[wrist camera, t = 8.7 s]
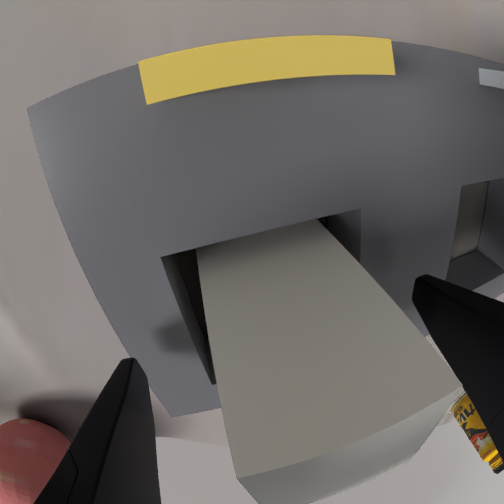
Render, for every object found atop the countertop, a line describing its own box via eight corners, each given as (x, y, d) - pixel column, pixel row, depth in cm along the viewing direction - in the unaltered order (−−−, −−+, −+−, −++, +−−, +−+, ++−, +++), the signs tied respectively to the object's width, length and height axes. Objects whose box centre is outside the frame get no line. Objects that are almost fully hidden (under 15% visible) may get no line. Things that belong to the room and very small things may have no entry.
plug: (306, 208, 11) (463, 385, 4) (312, 295, 13) (409, 460, 6) (194, 235, 10) (236, 478, 4) (219, 321, 12) (268, 514, 6)
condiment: (440, 413, 28) (485, 485, 17) (490, 362, 25) (545, 432, 15) (458, 412, 31) (497, 472, 20) (501, 367, 28) (547, 426, 18)
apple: (114, 449, 16) (118, 551, 10) (43, 453, 16) (38, 538, 9) (43, 390, 12) (23, 522, 6) (-23, 399, 12) (-46, 497, 5)
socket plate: (510, 73, 9) (594, 95, 5) (490, 264, 15) (546, 312, 11) (62, 102, 7) (-51, 126, 2) (169, 373, 13) (178, 480, 9)
